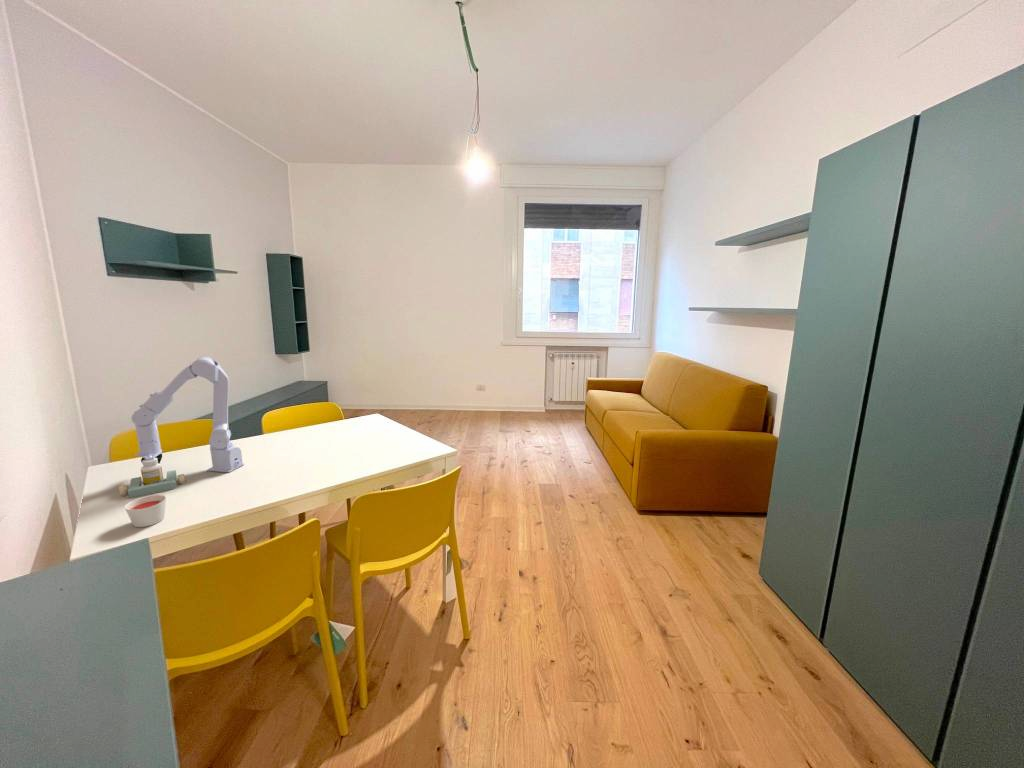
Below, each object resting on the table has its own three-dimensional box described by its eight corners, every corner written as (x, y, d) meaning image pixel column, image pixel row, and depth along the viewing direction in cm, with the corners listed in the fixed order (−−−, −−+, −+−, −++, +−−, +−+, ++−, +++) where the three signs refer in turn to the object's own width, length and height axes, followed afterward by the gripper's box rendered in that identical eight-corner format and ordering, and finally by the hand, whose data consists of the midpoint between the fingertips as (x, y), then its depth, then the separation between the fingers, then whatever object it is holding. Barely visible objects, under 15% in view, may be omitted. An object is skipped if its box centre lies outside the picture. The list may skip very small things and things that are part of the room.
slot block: (123, 486, 138) (121, 479, 138) (185, 474, 149) (183, 467, 148) (119, 500, 129) (117, 491, 129) (185, 486, 140) (183, 478, 139)
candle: (130, 533, 111) (126, 513, 110) (126, 521, 117) (123, 502, 116) (171, 521, 118) (168, 501, 117) (166, 510, 124) (163, 491, 123)
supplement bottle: (151, 482, 142) (147, 457, 140) (168, 481, 143) (163, 456, 141) (139, 489, 137) (135, 463, 135) (156, 488, 138) (152, 462, 136)
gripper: (135, 436, 145) (141, 471, 148) (131, 448, 134) (138, 485, 137) (160, 433, 149) (166, 466, 152) (159, 444, 138) (165, 479, 141)
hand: (154, 475), depth 145 cm, fingers closed
